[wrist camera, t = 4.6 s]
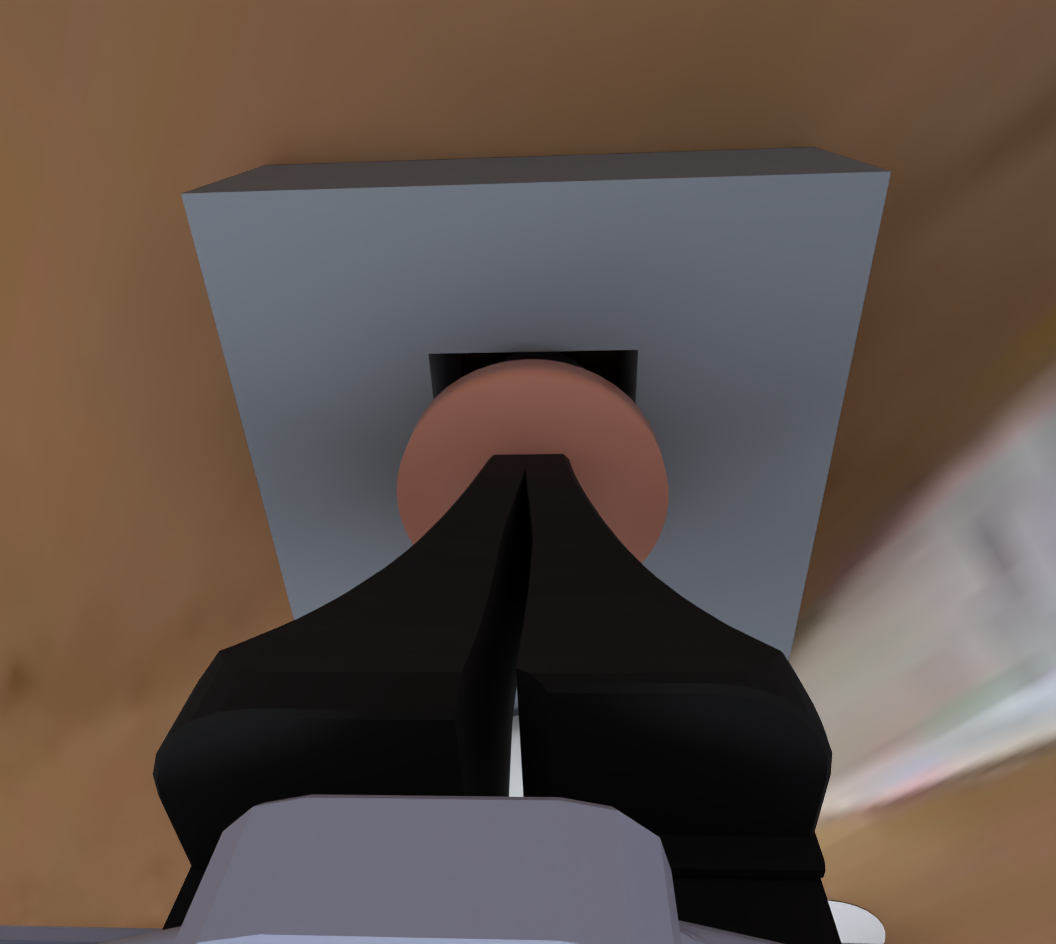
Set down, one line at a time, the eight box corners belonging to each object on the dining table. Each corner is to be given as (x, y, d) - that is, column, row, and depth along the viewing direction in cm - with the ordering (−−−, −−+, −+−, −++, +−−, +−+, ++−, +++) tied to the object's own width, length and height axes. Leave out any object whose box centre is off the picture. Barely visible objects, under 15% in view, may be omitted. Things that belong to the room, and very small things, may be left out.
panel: (813, 146, 15) (890, 171, 12) (718, 761, 25) (744, 873, 22) (264, 165, 16) (181, 193, 12) (386, 758, 26) (359, 866, 22)
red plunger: (650, 300, 15) (678, 374, 11) (639, 496, 17) (660, 607, 13) (420, 306, 15) (378, 379, 11) (442, 498, 17) (413, 607, 14)
